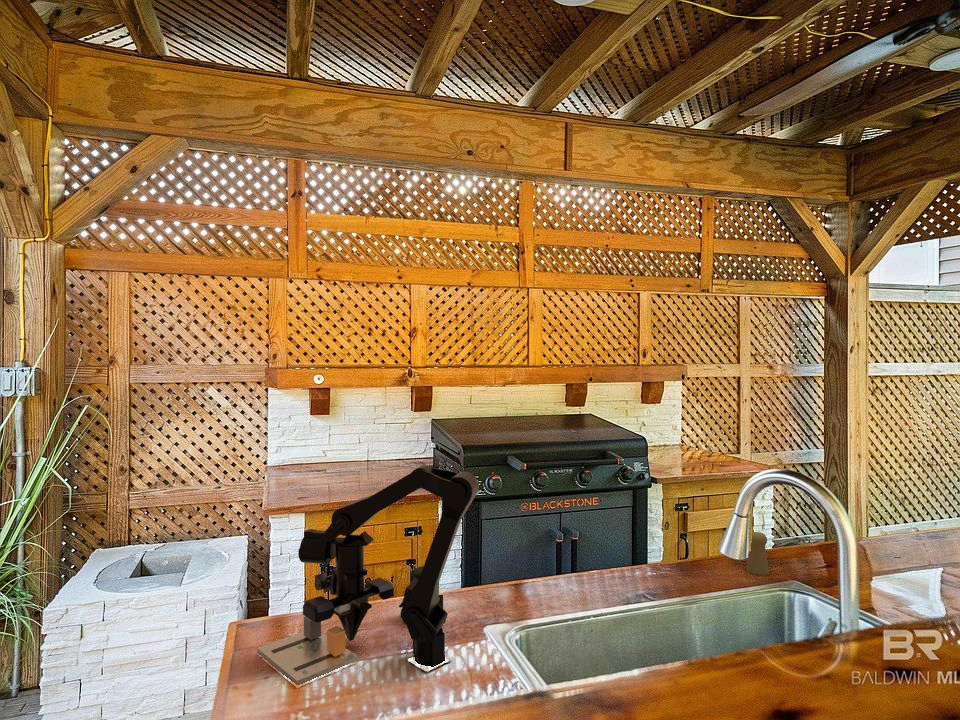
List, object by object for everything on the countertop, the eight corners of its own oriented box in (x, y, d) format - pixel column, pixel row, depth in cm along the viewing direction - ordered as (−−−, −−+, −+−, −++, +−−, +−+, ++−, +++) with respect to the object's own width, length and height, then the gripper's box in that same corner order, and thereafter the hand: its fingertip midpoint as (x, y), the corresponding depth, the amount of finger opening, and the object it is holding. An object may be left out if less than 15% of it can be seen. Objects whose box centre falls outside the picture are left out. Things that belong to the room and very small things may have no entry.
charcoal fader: (321, 636, 124) (320, 615, 124) (310, 640, 122) (310, 619, 122) (314, 631, 126) (314, 611, 126) (303, 635, 124) (303, 615, 124)
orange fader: (345, 652, 117) (345, 630, 117) (334, 656, 115) (334, 634, 115) (337, 647, 119) (337, 625, 119) (327, 651, 117) (326, 629, 117)
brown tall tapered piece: (741, 569, 165) (740, 531, 166) (755, 566, 168) (755, 528, 168) (759, 576, 160) (758, 537, 160) (774, 572, 163) (773, 534, 163)
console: (357, 663, 116) (357, 655, 116) (297, 688, 107) (297, 680, 107) (314, 634, 129) (314, 627, 129) (257, 655, 120) (256, 647, 120)
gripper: (367, 546, 132) (367, 614, 132) (290, 566, 119) (290, 642, 119) (395, 557, 124) (396, 630, 124) (315, 580, 111) (316, 661, 111)
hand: (350, 639), depth 119 cm, fingers closed
